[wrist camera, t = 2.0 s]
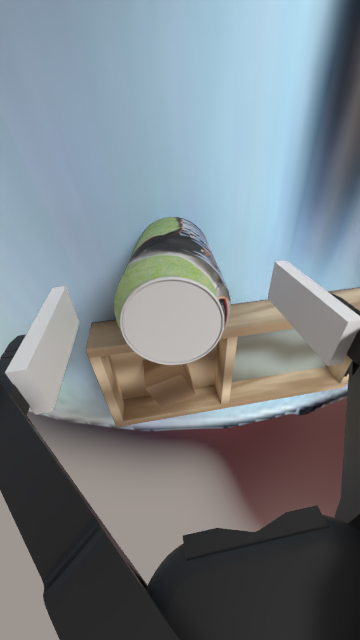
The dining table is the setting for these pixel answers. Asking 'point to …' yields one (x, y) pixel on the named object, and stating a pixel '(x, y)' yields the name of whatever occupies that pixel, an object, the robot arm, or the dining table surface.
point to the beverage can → (172, 295)
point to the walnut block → (167, 382)
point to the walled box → (219, 366)
